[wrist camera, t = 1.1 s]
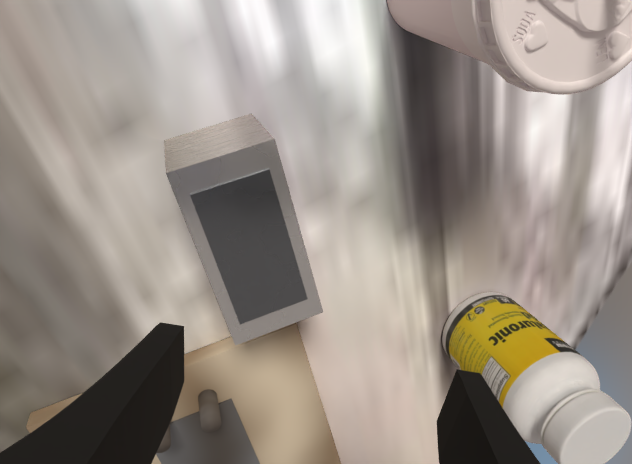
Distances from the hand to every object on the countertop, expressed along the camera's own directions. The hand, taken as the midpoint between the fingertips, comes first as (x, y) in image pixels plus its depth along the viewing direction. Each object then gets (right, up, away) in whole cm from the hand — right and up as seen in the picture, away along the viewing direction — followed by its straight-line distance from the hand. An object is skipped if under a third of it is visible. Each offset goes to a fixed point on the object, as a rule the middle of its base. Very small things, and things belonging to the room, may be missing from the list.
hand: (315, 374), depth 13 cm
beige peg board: (-6, -9, +16) cm, 20 cm away
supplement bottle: (+10, -2, +19) cm, 21 cm away
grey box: (-4, +5, +11) cm, 12 cm away
